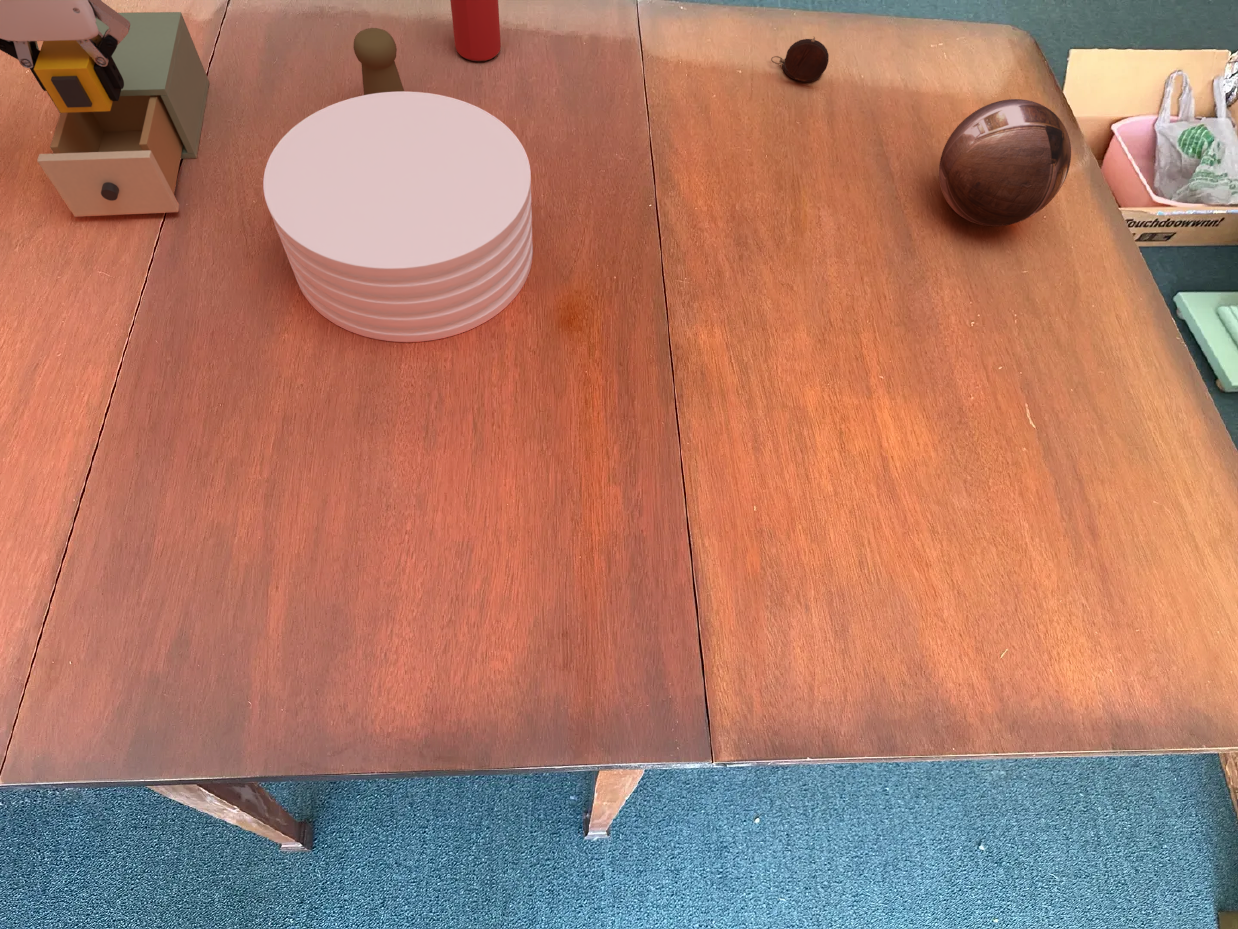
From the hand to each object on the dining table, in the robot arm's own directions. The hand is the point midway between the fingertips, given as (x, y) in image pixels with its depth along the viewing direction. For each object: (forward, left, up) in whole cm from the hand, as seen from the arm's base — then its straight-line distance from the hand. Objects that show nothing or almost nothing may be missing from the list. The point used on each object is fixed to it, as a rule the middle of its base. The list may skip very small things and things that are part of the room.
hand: (88, 92), depth 85 cm
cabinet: (0, +12, -12) cm, 17 cm away
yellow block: (0, 0, 0) cm, 0 cm away
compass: (+90, +19, -13) cm, 93 cm away
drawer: (0, 0, -11) cm, 11 cm away
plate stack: (+33, -14, -13) cm, 38 cm away
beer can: (+43, +26, -13) cm, 52 cm away
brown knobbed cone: (+30, +12, -13) cm, 35 cm away
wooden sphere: (+107, -12, -13) cm, 108 cm away
